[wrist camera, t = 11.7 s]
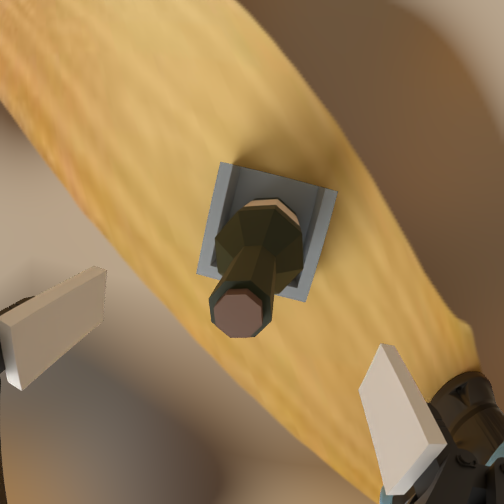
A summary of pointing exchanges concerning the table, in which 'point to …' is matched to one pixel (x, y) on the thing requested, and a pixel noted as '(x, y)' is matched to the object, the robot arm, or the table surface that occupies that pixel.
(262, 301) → the wine bottle
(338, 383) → the table surface
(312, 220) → the bottle stand
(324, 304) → the table surface
